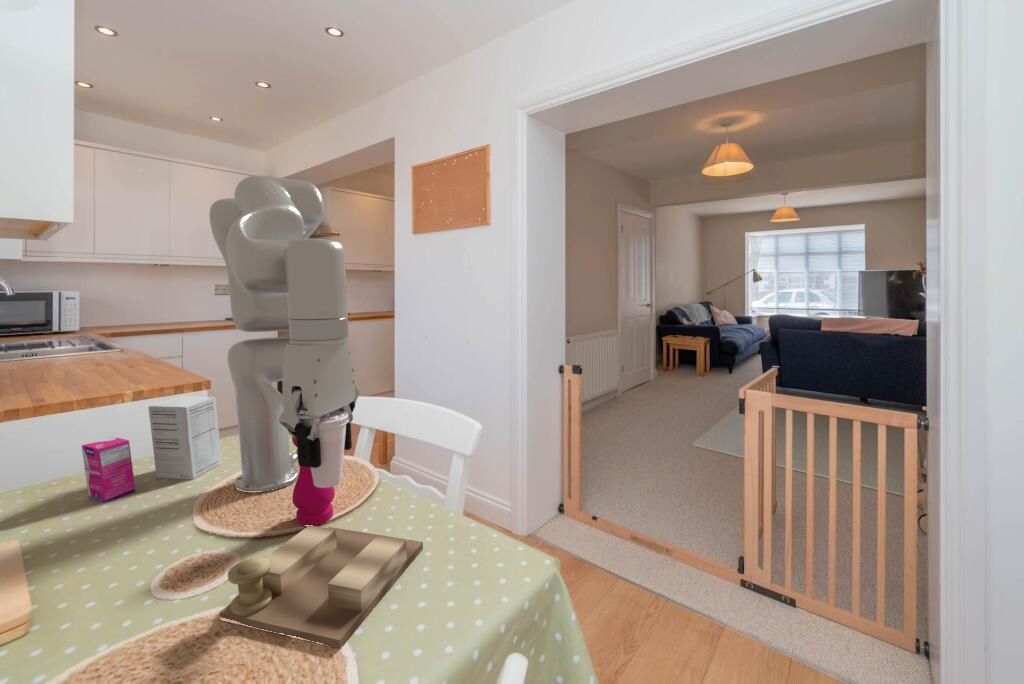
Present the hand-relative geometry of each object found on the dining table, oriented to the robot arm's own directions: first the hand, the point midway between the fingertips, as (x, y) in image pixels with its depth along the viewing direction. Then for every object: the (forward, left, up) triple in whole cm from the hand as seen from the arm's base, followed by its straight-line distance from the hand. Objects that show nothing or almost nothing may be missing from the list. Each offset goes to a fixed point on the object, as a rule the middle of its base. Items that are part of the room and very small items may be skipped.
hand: (326, 455), depth 66 cm
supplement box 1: (-12, -62, -19) cm, 66 cm away
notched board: (0, 0, -19) cm, 19 cm away
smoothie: (0, 0, -4) cm, 4 cm away
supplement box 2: (-26, -58, -19) cm, 66 cm away
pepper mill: (-15, -15, -19) cm, 29 cm away
